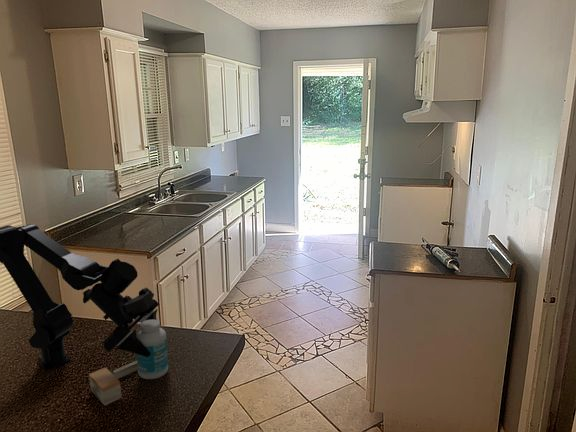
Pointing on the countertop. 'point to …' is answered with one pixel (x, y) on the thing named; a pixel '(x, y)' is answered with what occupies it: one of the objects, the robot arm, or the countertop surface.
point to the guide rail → (125, 370)
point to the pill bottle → (152, 350)
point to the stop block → (105, 386)
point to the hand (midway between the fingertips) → (156, 347)
